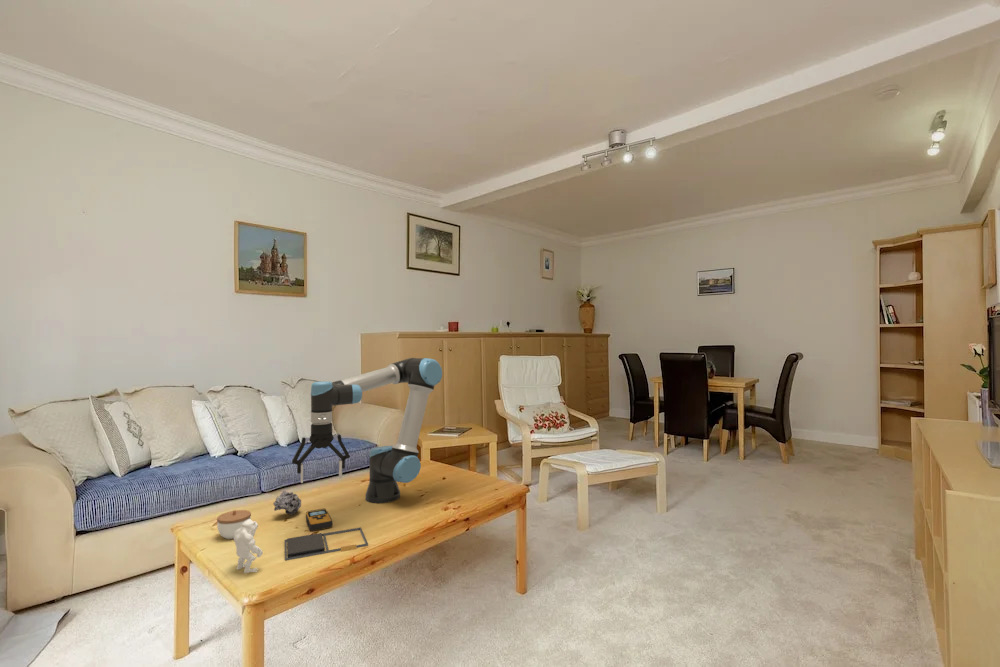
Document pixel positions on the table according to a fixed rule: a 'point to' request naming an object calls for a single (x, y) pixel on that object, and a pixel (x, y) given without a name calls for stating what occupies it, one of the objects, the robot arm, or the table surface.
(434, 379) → the robot arm
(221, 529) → the lidded jar
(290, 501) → the mineral specimen
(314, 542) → the grey flat frame
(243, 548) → the figurine
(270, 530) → the table surface
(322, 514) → the electronic device
